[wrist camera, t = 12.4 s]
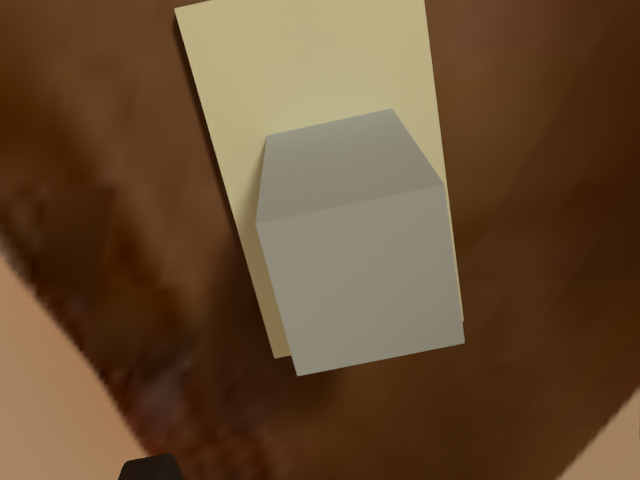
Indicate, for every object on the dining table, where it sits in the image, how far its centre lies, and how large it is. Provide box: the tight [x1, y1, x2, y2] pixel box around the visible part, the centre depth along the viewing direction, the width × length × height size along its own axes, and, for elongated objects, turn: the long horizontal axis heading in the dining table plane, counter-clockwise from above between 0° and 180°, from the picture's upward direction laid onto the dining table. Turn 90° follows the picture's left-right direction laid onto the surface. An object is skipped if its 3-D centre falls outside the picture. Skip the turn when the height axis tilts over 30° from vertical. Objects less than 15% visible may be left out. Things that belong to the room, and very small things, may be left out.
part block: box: [255, 108, 465, 376], centre depth 19 cm, size 4×4×8 cm
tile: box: [174, 0, 464, 359], centre depth 23 cm, size 8×14×1 cm, turn 12°
